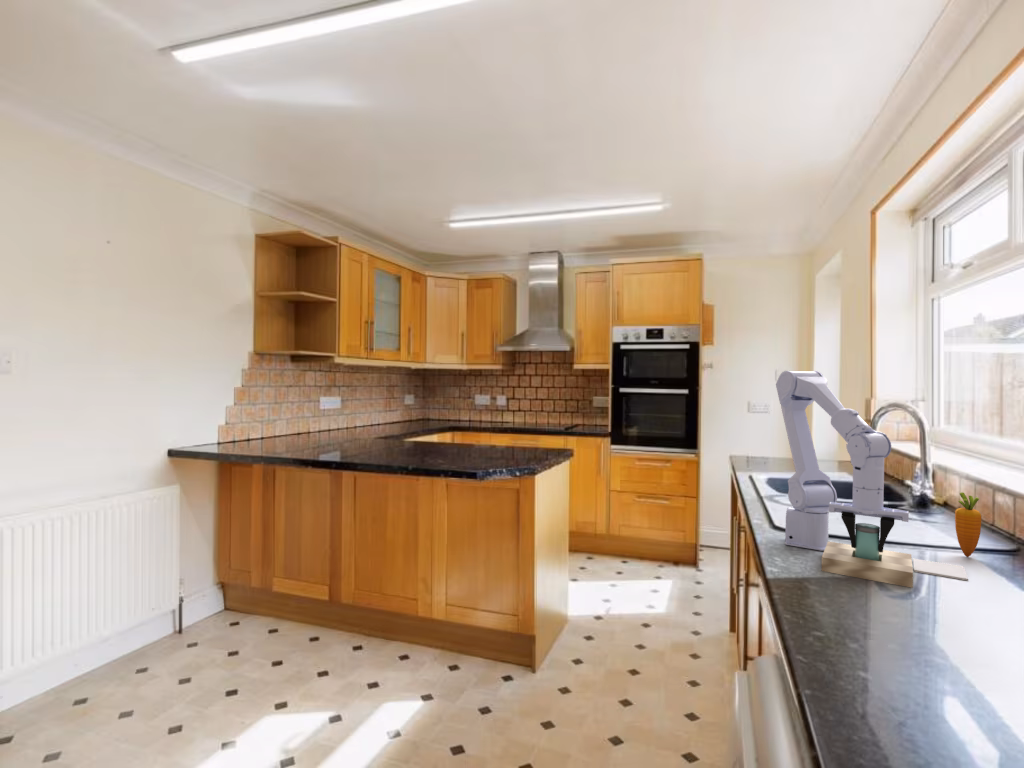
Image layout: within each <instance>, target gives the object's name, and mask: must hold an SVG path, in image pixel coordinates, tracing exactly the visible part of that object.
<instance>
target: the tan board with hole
mask: <svg viewBox="0 0 1024 768" xmlns="http://www.w3.org/2000/svg"><path fill="white" fill-rule="evenodd" d="M821 571H822V572H825V573H830V574H831V573H832V574H837V575H843V576H846V577H847V576H848V577H852V578H858V579H864V580H870V581H874V582H879V583H885V584H891V585H896V586H901V587H905V588H906V587H908V588H912V589H913V588H914V584H913V583H914V566H913V558H912V554H911V553H906V552H898V551H894V550H893V551H892V550H886V549H883V552H879V561H875V560H869V559H863V558H857V557H855V548H852V547H851V544H848V543H840V542H835V541H829V540H828V543H827V545H826V548H825V550H824V551H823V553H822V555H821Z"/></svg>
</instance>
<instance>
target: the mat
mask: <svg viewBox="0 0 1024 768" xmlns="http://www.w3.org/2000/svg"><path fill="white" fill-rule="evenodd" d="M912 566H913V573H914V572H916V573H921V574H926V575H933V576H938V577H944V578H950V579H957V580H962V581H967V582H968V581H969V578H968V574H967V572H966V570H965V569H966V568H965V566H962V565H956V564H950V563H944V562H938V561H937V562H936V561H933V560H924V559H919V558H914V557H913V558H912Z"/></svg>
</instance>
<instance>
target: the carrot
mask: <svg viewBox="0 0 1024 768" xmlns="http://www.w3.org/2000/svg"><path fill="white" fill-rule="evenodd" d="M959 495H960V497H961V499H962V500H957V501H958V503H959V504H960V505H962V507H959V508H956V509H955V511H954V517H955V518H954V523H955V525H954V526H955V533H956V539H957V542H958V544H959V546H960V550H961V551H962V553H963V555H964V556H965V557H967V558H968V557H971V555H972V554H973V553H974V552H975V550H976V549H977V546H978V543H979V541H980V540H979V539H980V536H981V529H982V514H981V512H980V511H979V510H977V509H974V507H975V505H976V504H977V503H978V502H979V500H980V498H979V497H977V496H976V497H975V498H974V496H973V495H968V497H967V495H966V493H965V492H963V491H962V492H959Z"/></svg>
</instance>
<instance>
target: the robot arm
mask: <svg viewBox="0 0 1024 768" xmlns="http://www.w3.org/2000/svg"><path fill="white" fill-rule="evenodd" d="M779 374H780V375H779V376H778V379H777V380H776V383H775V388H776V391H777V396H778V401H779V405H780V407H781V414H782V417H783V421H784V422H783V423H784V426H785V430H786V434H787V439H788V443H789V444H788V445H789V449H790V453H791V457H792V461H793V465H794V470H795V472H794V473H793V474H792V476H791V477H789V478H788V479H787V485H788V491H787V492H788V493H787V497H788V501H789V503H790V505H791V506H792V507H790V506H789V507H787V508H786V513H785V532H784V534H785V535H784V536H785V542H784V545H785V546H792V547H798V548H803V549H809V550H816V551H821V552H824V550H825V548H826V545H827V543H828V541H829V521H830V520H829V517H830V515H829V514H830V513H840V514H841V520H842V522H843V524H844V526H845V529H846V531H847V534H848V536H849V539H850V545H851V547H852V548H855V533H856V529H855V524H856V515H857V516H864V517H871V518H872V517H873V518H879V519H880V520H879V522H880V524H879V527H880V533H879V552H883V550H884V546H885V543H886V540H887V538H888V536H889V533H890V532H891V530H892V529H893V527H894V525H895V521H896V520H897V521H902V522H907V523H909V516H910V515H909V510H902V509H896V508H891V507H890V508H889V507H886V506H885V507H884V499H885V497H884V492H885V491H884V489H885V486H884V485H885V459H886V458H888V456H889V455H891V454H890V453H891V452H892V442H891V440H890V438H889V437H888V435H887V434H886V433H884V432H882V431H877V430H875V429H873V427H871V426H870V425H869V424H868V423H867V422H866V421H865V420H864V419H863V418H862V417H861V415H859V414H860V413H859V411H857V410H856V409H854V408H845V407H844V405H843V404H842V402H841V401H840V400H839V399H838V398H837V396H836V395H835V394H834V392H833V391H832V390H831V389H830V388H829V386H828V379H827V378H826V377H825V376H824V375H823V374H822V372H820V371H818V370H813V371H799V370H797V371H796V370H795V371H790V370H784V371H782V372H781V373H779ZM813 402H815V403H816V404H817V405H819V407H820V408H821V409H823V410H824V412H825V413H827V414H828V415H829V417H831V418H830V425H831V426H832V427H833V429H835V430H836V431H837V433H838V434H839V435H840V436H841V437H842V439H843V440H844V441H845V442H846V451H847V453H848V455H849V458H850V463H851V465H852V503H849V502H846V503H845V502H838V501H837V500H838V494H837V490H836V488H835V487H834V486H833V484H832V481H831V478H830V476H829V475H827V474H826V473H825V472H823V471H822V470H821V469H820V467H819V462H818V459H817V455H816V450H815V446H814V442H813V437H812V433H811V429H810V428H811V427H810V425H809V424H810V423H809V421H808V417H807V413H806V412H807V411H806V409H807V408H808V406H810V405H812V404H813Z"/></svg>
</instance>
